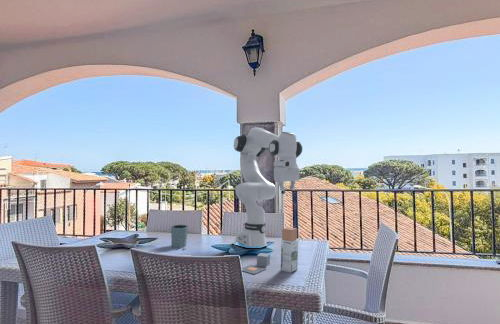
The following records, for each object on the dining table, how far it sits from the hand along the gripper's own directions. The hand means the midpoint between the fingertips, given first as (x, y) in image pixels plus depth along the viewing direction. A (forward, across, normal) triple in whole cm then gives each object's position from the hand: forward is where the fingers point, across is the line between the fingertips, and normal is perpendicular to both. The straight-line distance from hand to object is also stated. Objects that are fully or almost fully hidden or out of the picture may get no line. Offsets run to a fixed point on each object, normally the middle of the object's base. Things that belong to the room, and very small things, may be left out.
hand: (287, 190), depth 154 cm
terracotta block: (+22, +11, +8) cm, 26 cm away
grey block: (+37, +12, -6) cm, 39 cm away
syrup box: (+36, +11, +8) cm, 39 cm away
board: (+36, +22, -5) cm, 43 cm away
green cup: (+38, +16, -64) cm, 76 cm away
